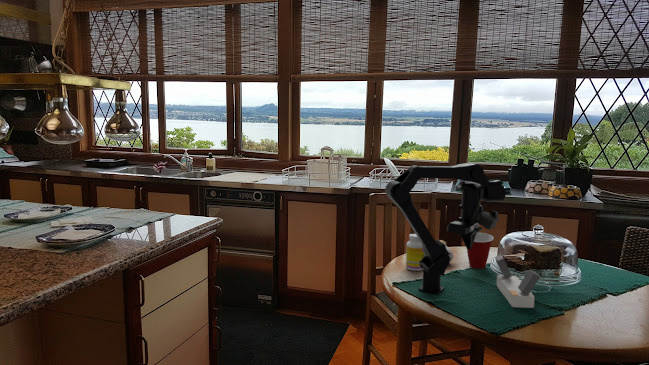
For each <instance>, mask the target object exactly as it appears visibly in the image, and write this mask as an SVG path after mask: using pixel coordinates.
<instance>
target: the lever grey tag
mask: <svg viewBox="0 0 649 365" xmlns="http://www.w3.org/2000/svg"><path fill="white" fill-rule="evenodd" d="M494 258H495V259H494V260H495V261H496V264H497V266H498V267H499V268H498V269H499V270H500V272H501V275H502V276H504V277H505V278H506V279H508V278H510V277H512V276H513V275H512V274H511V271H510V270H509V267H508V265H507V263H506V260H505V258H504V257H503V256H502V255H501V254H499V255H497V256H495V257H494Z"/></svg>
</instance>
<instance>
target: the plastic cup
mask: <svg viewBox="0 0 649 365" xmlns="http://www.w3.org/2000/svg"><path fill="white" fill-rule="evenodd" d="M493 241H494V236H493V235H491V234H489V233H486V232H478V233H477V235H476V237H475V240H474V242H473V245H472V248H471V249H470V250H469V249H467V248H466V252H467V259H468V264H469V267H470V268H473V269H477V270H479V269H481V270H482V269H485V268H486V267H487V262H488V260H489V254H490V250H491V246H492V243H493Z"/></svg>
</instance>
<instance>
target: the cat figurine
mask: <svg viewBox="0 0 649 365" xmlns="http://www.w3.org/2000/svg"><path fill="white" fill-rule="evenodd" d="M436 240H438V239H436ZM436 240H435V241H436ZM439 241H440V242H442V243H443V244H444V245H445V247H446V249H447V251H448V252H449V253H450V255H449V256H450V259H451V261H452V260H454V253H453V251H452V250H451V248H450V247H448V246H447V241H444V240H443V239H441V240H440V239H439ZM424 256H425V253H424Z"/></svg>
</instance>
